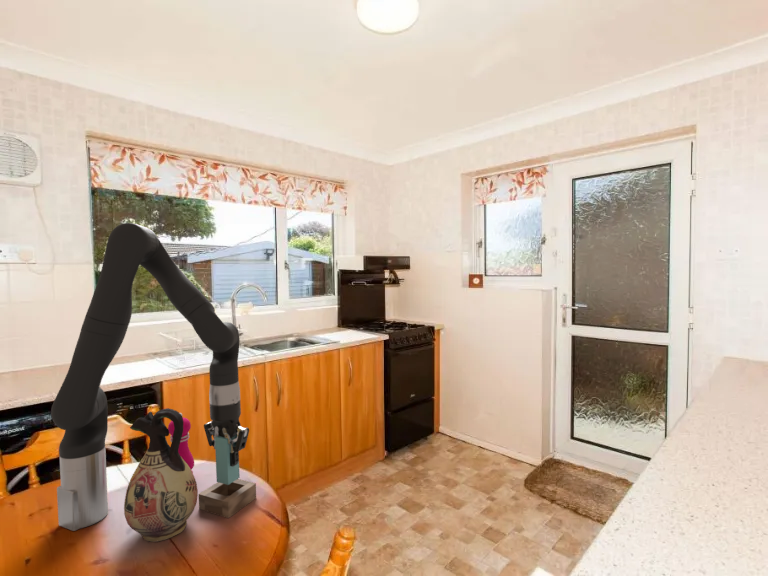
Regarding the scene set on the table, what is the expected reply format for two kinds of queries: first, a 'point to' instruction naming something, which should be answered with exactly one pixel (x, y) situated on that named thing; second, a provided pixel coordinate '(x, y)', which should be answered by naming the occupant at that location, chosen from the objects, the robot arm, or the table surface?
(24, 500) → the table surface
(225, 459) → the peg
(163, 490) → the ceramic jug
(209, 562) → the table surface
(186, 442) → the pepper mill
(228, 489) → the socket block
